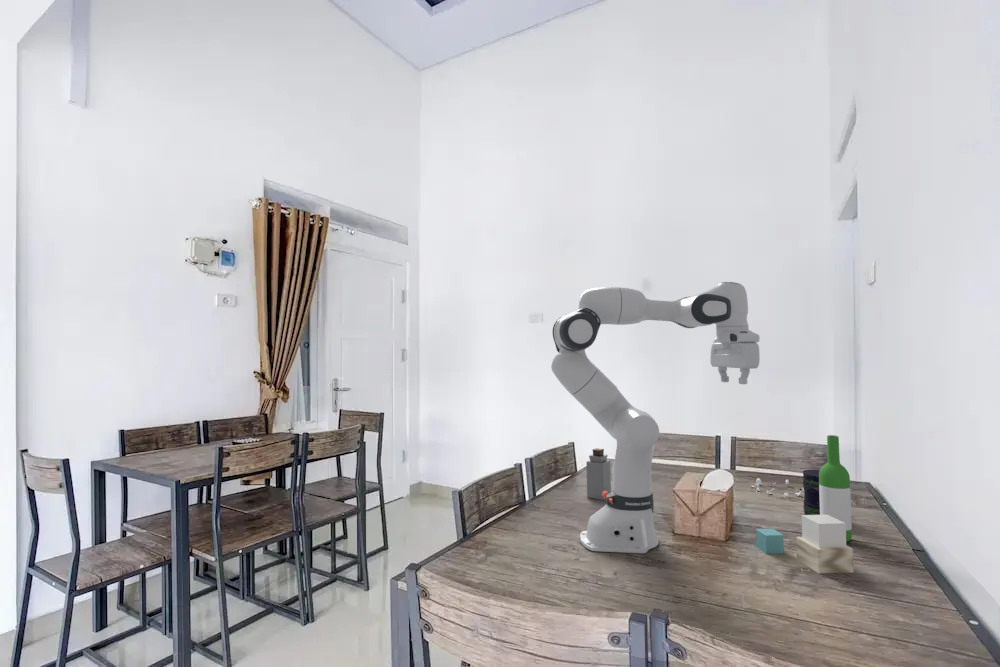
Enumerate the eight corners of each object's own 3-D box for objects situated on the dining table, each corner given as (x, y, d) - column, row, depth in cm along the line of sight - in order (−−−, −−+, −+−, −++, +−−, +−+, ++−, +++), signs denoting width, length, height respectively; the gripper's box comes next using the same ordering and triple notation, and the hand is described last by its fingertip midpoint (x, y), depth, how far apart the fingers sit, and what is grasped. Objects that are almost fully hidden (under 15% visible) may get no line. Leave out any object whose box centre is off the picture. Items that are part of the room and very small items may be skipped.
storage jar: (833, 526, 163) (831, 478, 164) (799, 518, 171) (797, 473, 171) (843, 519, 170) (841, 473, 170) (810, 512, 177) (808, 468, 178)
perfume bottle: (594, 493, 204) (594, 447, 205) (610, 495, 200) (610, 448, 201) (587, 497, 199) (586, 449, 199) (603, 499, 195) (602, 451, 195)
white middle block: (819, 548, 131) (818, 523, 131) (802, 538, 138) (801, 515, 138) (846, 547, 131) (845, 523, 131) (827, 537, 138) (827, 514, 138)
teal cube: (766, 553, 142) (765, 535, 142) (756, 547, 147) (755, 529, 147) (783, 553, 143) (783, 535, 143) (773, 546, 148) (773, 528, 148)
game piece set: (741, 486, 213) (740, 477, 213) (786, 484, 215) (786, 475, 215) (770, 499, 194) (770, 489, 194) (820, 497, 196) (820, 487, 196)
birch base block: (818, 573, 130) (817, 549, 130) (796, 559, 139) (795, 536, 139) (853, 572, 130) (852, 548, 130) (829, 558, 139) (828, 535, 139)
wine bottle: (824, 541, 151) (820, 437, 152) (817, 532, 158) (814, 433, 159) (855, 544, 148) (852, 438, 149) (847, 535, 155) (844, 434, 156)
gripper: (704, 337, 165) (705, 381, 164) (742, 335, 145) (743, 385, 144) (723, 337, 166) (724, 380, 165) (763, 335, 145) (764, 385, 145)
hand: (733, 383), depth 155 cm, fingers open, 8 cm apart
